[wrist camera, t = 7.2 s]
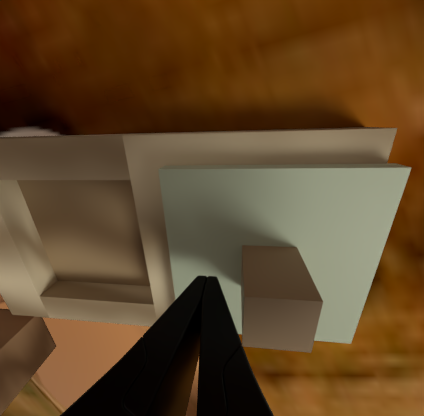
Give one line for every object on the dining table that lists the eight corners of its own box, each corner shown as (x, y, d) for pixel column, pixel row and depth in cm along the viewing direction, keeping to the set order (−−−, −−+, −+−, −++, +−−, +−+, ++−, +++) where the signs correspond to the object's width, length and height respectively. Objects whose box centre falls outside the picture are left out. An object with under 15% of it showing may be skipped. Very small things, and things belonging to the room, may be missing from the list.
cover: (343, 329, 12) (389, 418, 8) (182, 317, 13) (162, 390, 9) (395, 163, 8) (517, 194, 5) (164, 165, 9) (119, 192, 6)
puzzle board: (321, 313, 14) (334, 342, 12) (36, 293, 17) (12, 314, 15) (366, 127, 10) (397, 128, 8) (-36, 138, 12) (-85, 141, 10)
